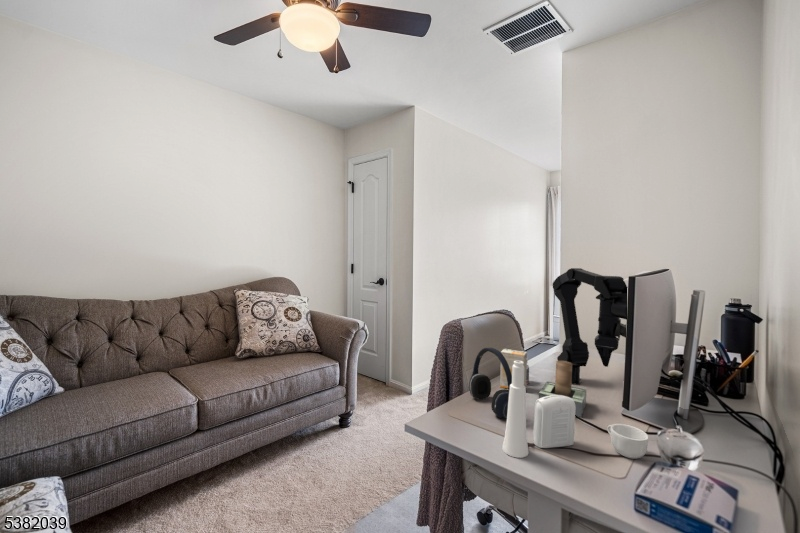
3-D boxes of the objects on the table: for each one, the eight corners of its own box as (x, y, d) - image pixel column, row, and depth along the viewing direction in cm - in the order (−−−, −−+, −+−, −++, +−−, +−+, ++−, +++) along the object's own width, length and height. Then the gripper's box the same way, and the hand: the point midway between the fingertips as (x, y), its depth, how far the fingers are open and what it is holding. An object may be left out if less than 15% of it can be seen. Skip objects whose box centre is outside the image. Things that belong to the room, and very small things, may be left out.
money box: (546, 394, 121) (546, 381, 120) (585, 403, 114) (586, 389, 114) (538, 406, 111) (538, 392, 110) (581, 417, 104) (581, 402, 104)
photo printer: (565, 437, 93) (567, 391, 92) (576, 446, 89) (579, 397, 88) (530, 441, 91) (532, 393, 90) (540, 450, 86) (542, 400, 86)
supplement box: (526, 388, 126) (527, 351, 125) (523, 392, 122) (524, 355, 121) (503, 383, 130) (504, 347, 130) (499, 387, 126) (500, 350, 125)
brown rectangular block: (560, 399, 116) (562, 359, 115) (573, 404, 111) (575, 364, 111) (551, 401, 113) (553, 361, 113) (564, 407, 109) (565, 366, 109)
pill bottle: (526, 380, 134) (527, 357, 133) (530, 385, 128) (531, 361, 128) (512, 379, 134) (513, 356, 134) (515, 384, 129) (516, 360, 128)
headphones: (520, 421, 101) (523, 358, 100) (499, 424, 99) (502, 359, 98) (483, 393, 120) (485, 340, 120) (465, 395, 118) (467, 341, 117)
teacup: (655, 460, 83) (656, 438, 83) (629, 465, 81) (631, 442, 81) (618, 438, 93) (619, 418, 93) (595, 442, 91) (596, 421, 91)
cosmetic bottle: (498, 444, 89) (501, 357, 88) (521, 443, 89) (525, 357, 88) (508, 458, 83) (511, 365, 82) (533, 457, 83) (536, 365, 82)
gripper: (639, 322, 102) (636, 376, 103) (639, 313, 117) (636, 360, 118) (595, 318, 108) (593, 368, 109) (600, 310, 124) (598, 354, 124)
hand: (606, 362), depth 115 cm, fingers open, 9 cm apart
